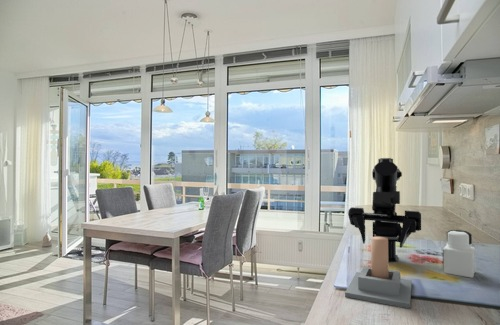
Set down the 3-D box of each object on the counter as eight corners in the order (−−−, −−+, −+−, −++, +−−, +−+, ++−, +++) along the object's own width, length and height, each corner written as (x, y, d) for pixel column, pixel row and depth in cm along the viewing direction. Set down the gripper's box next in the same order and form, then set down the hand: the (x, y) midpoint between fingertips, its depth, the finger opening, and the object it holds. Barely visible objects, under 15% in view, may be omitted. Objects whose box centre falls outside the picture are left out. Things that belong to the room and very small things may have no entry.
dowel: (377, 281, 84) (376, 235, 84) (391, 286, 81) (391, 238, 81) (368, 285, 82) (367, 238, 82) (382, 290, 78) (382, 241, 78)
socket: (356, 275, 92) (356, 261, 92) (411, 283, 85) (411, 268, 85) (345, 296, 77) (344, 279, 77) (409, 308, 71) (409, 290, 71)
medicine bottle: (447, 266, 99) (446, 227, 98) (475, 271, 94) (475, 230, 94) (443, 273, 93) (442, 231, 93) (472, 278, 88) (472, 234, 88)
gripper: (349, 180, 95) (341, 224, 85) (420, 181, 86) (421, 231, 76) (354, 203, 102) (347, 246, 92) (421, 206, 93) (421, 255, 83)
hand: (381, 244), depth 86 cm, fingers open, 9 cm apart
